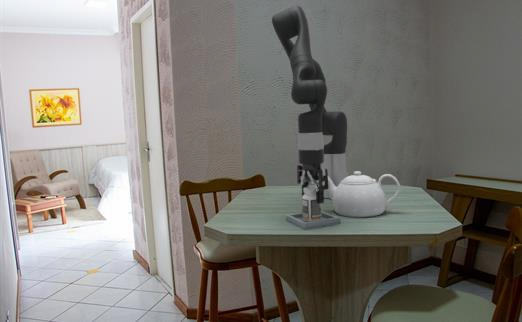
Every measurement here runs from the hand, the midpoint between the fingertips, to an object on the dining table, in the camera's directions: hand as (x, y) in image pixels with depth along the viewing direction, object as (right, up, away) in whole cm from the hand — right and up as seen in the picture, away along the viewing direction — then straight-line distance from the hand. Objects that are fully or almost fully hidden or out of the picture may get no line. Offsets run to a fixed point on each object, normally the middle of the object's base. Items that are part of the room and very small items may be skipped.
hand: (312, 200), depth 129 cm
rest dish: (0, -7, +1) cm, 7 cm away
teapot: (+17, -5, +11) cm, 21 cm away
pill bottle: (0, -6, +1) cm, 6 cm away
